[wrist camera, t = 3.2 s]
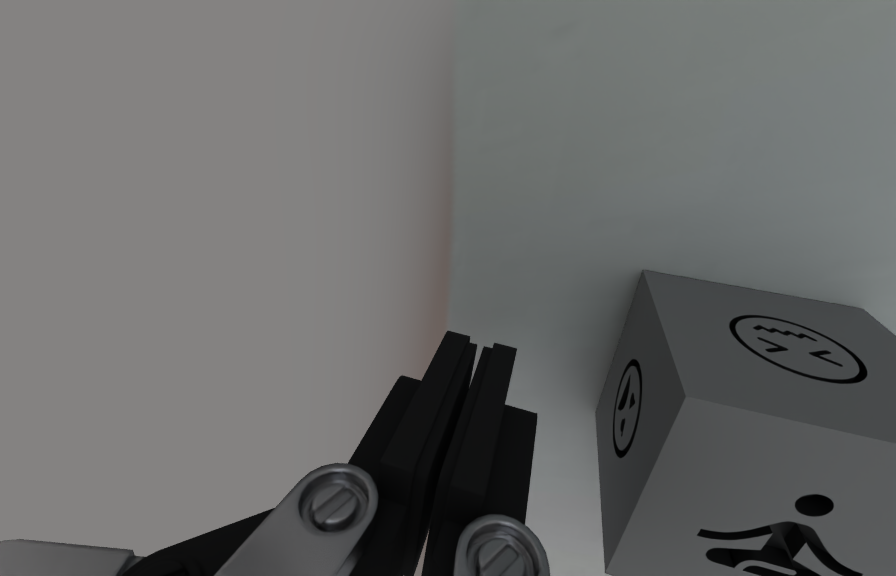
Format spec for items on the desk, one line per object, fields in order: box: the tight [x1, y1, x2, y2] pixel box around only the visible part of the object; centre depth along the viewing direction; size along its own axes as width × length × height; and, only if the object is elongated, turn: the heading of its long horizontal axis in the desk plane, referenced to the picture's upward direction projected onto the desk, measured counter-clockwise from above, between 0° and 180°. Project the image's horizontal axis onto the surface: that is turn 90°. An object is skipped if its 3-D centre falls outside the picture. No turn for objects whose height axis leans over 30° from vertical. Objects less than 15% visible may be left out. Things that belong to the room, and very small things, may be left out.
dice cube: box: [596, 270, 896, 576], centre depth 10 cm, size 5×5×5 cm
